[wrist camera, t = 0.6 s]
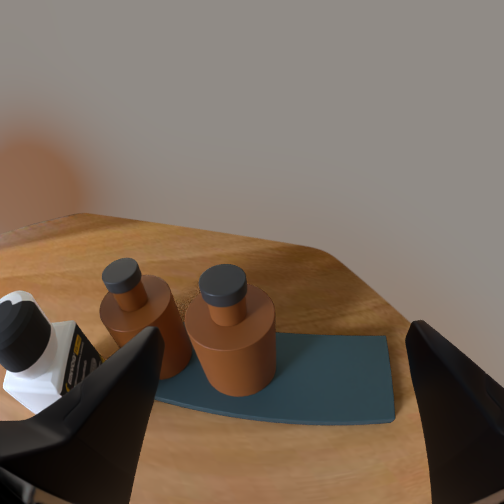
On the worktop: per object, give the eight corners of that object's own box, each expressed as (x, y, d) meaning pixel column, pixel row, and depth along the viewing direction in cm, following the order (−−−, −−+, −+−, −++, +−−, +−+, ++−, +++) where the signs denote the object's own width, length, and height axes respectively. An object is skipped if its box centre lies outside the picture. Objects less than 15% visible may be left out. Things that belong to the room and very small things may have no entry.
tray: (391, 422, 16) (395, 418, 16) (117, 387, 21) (112, 382, 20) (383, 341, 23) (386, 335, 23) (149, 322, 28) (146, 316, 27)
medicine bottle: (105, 428, 17) (14, 350, 10) (48, 424, 16) (-37, 350, 9) (109, 364, 23) (47, 273, 16) (57, 367, 22) (-7, 286, 15)
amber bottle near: (270, 401, 19) (266, 323, 13) (197, 390, 20) (156, 310, 14) (279, 341, 24) (279, 250, 18) (215, 334, 25) (191, 246, 19)
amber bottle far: (180, 386, 20) (134, 307, 14) (122, 371, 21) (68, 294, 15) (200, 332, 25) (172, 245, 19) (146, 323, 26) (109, 243, 20)
